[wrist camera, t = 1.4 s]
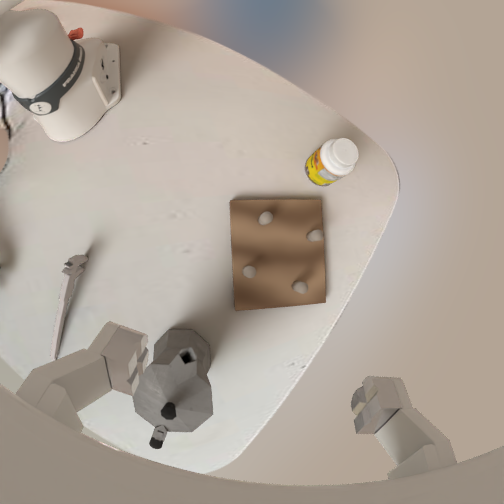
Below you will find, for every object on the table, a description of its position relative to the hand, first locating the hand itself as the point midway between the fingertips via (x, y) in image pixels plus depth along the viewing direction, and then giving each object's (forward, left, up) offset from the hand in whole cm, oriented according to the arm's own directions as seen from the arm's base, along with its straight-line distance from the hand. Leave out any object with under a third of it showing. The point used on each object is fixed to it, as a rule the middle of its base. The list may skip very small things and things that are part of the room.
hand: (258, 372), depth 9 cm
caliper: (+4, -26, -34) cm, 43 cm away
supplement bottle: (-17, +17, -33) cm, 41 cm away
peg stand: (-4, +9, -33) cm, 34 cm away
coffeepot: (+12, -7, -33) cm, 36 cm away
